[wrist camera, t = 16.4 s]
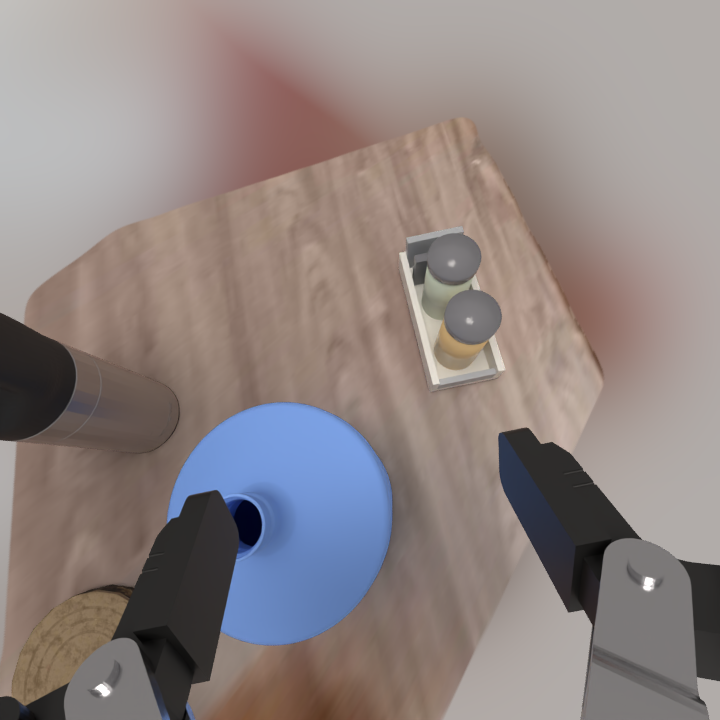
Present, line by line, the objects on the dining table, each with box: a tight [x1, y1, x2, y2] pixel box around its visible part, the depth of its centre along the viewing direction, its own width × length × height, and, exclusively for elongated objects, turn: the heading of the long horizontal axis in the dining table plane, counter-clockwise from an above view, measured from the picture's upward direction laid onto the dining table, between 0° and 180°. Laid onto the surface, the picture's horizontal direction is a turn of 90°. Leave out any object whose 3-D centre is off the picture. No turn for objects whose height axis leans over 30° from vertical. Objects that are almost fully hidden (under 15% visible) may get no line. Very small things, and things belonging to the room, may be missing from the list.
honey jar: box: [434, 290, 502, 370], centre depth 44 cm, size 5×5×11 cm
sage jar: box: [421, 233, 481, 320], centre depth 46 cm, size 5×5×11 cm
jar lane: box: [399, 226, 505, 392], centre depth 48 cm, size 18×8×7 cm, turn 11°
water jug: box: [167, 402, 392, 645], centre depth 33 cm, size 16×16×28 cm
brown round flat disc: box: [12, 585, 134, 706], centre depth 42 cm, size 16×16×3 cm
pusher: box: [412, 253, 428, 286], centre depth 49 cm, size 2×6×6 cm, turn 101°
